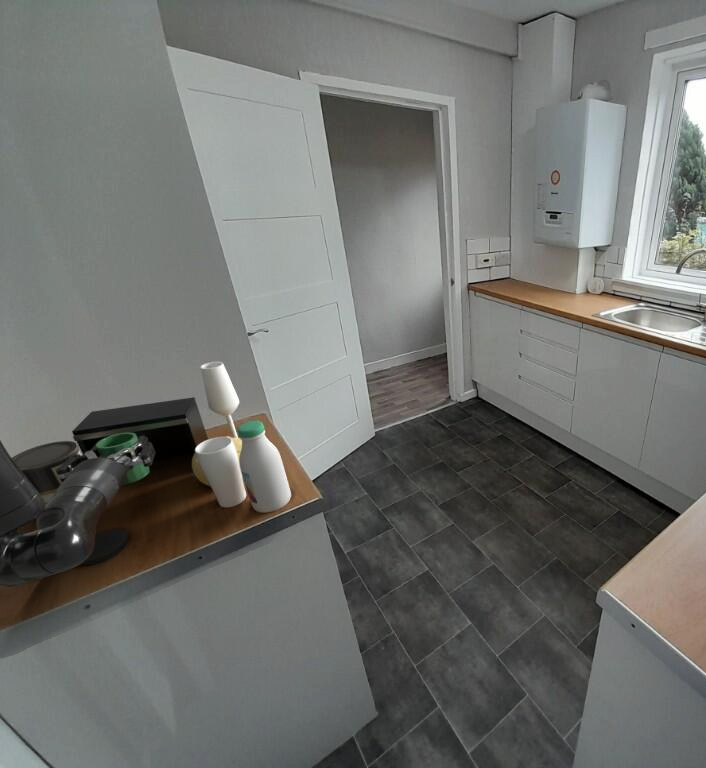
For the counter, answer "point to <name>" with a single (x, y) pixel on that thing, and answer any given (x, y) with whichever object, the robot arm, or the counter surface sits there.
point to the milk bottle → (262, 469)
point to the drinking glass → (222, 470)
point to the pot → (118, 443)
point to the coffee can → (45, 465)
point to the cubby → (148, 427)
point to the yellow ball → (197, 468)
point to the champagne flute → (220, 392)
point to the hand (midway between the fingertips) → (123, 442)
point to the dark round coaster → (107, 546)
